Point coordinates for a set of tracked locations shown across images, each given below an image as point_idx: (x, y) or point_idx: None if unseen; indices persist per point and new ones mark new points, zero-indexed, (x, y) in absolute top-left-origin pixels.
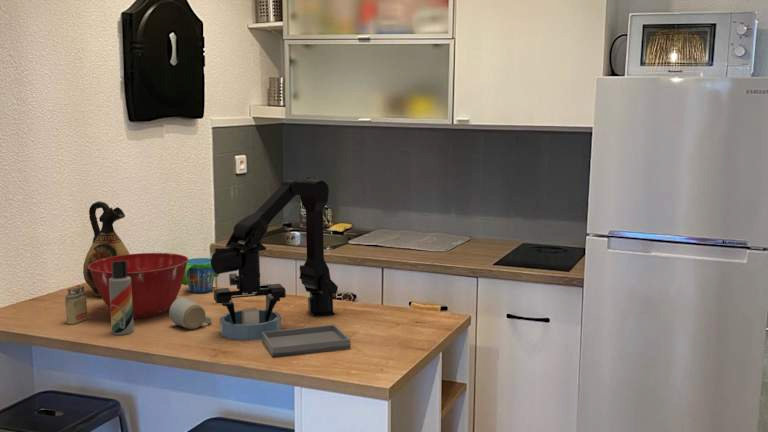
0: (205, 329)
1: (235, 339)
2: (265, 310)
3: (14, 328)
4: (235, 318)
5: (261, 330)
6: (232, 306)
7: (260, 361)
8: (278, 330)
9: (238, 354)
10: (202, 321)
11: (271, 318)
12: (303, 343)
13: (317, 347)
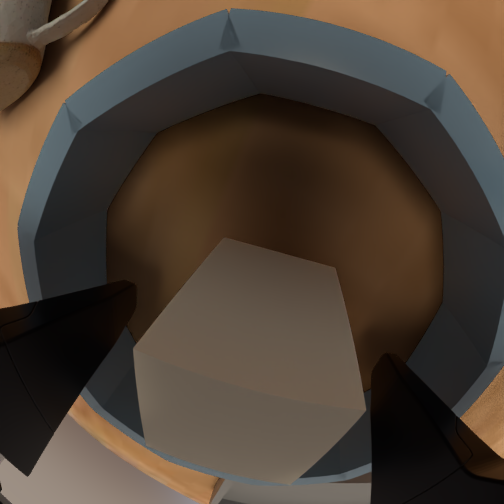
0: (53, 106)
1: None
2: (424, 413)
3: None
4: (99, 364)
5: None
6: (29, 451)
7: (180, 483)
8: None
9: (137, 445)
10: (25, 72)
11: (469, 302)
12: (319, 499)
13: None
